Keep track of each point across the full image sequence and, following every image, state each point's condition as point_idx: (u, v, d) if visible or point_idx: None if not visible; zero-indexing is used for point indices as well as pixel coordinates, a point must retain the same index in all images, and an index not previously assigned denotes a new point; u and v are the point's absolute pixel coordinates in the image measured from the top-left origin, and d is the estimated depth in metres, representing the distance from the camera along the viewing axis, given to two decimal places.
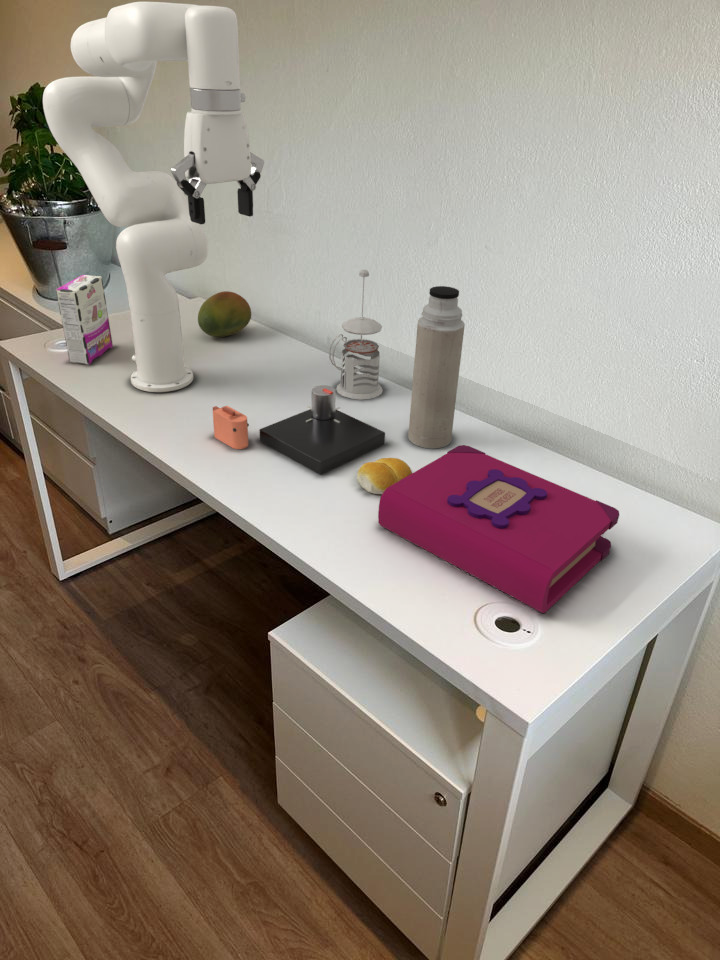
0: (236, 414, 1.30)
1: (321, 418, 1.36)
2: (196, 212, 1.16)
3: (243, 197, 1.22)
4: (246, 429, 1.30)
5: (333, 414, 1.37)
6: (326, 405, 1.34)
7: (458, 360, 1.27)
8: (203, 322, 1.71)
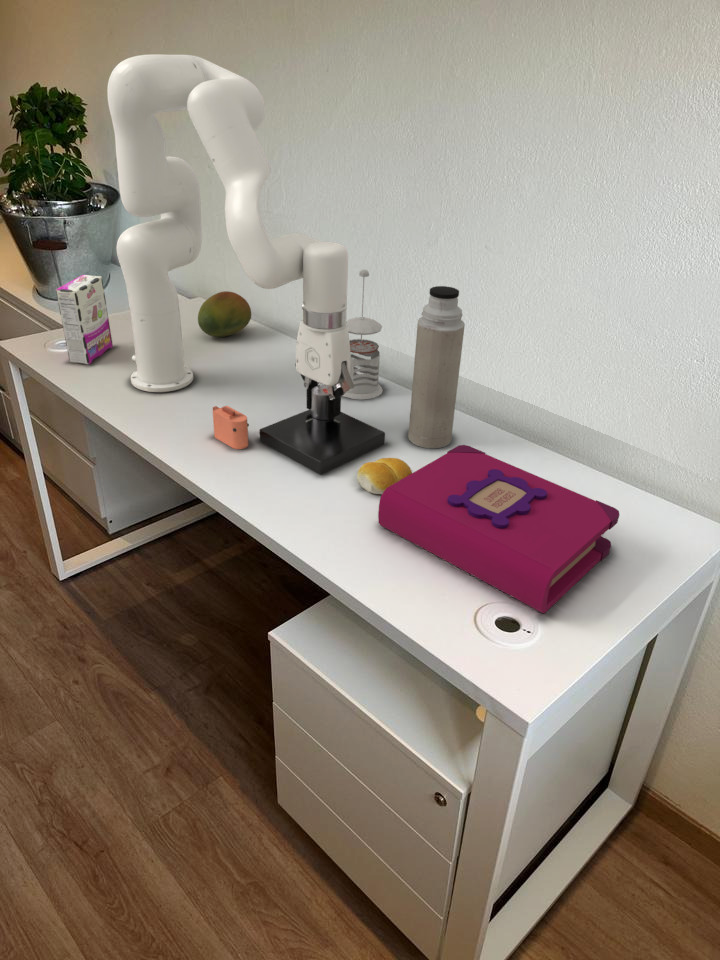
0: (236, 414, 1.30)
1: (321, 418, 1.36)
2: None
3: None
4: (246, 429, 1.30)
5: None
6: None
7: (458, 360, 1.27)
8: (203, 322, 1.71)
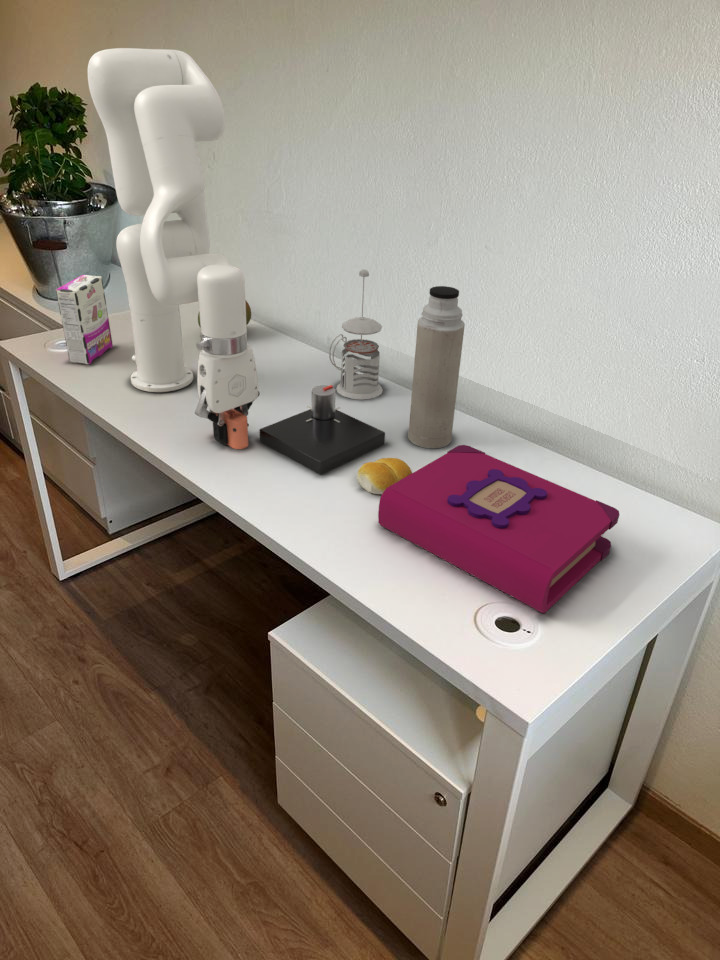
0: (236, 414, 1.30)
1: (334, 414, 1.38)
2: None
3: None
4: (246, 429, 1.30)
5: None
6: None
7: (458, 360, 1.27)
8: None
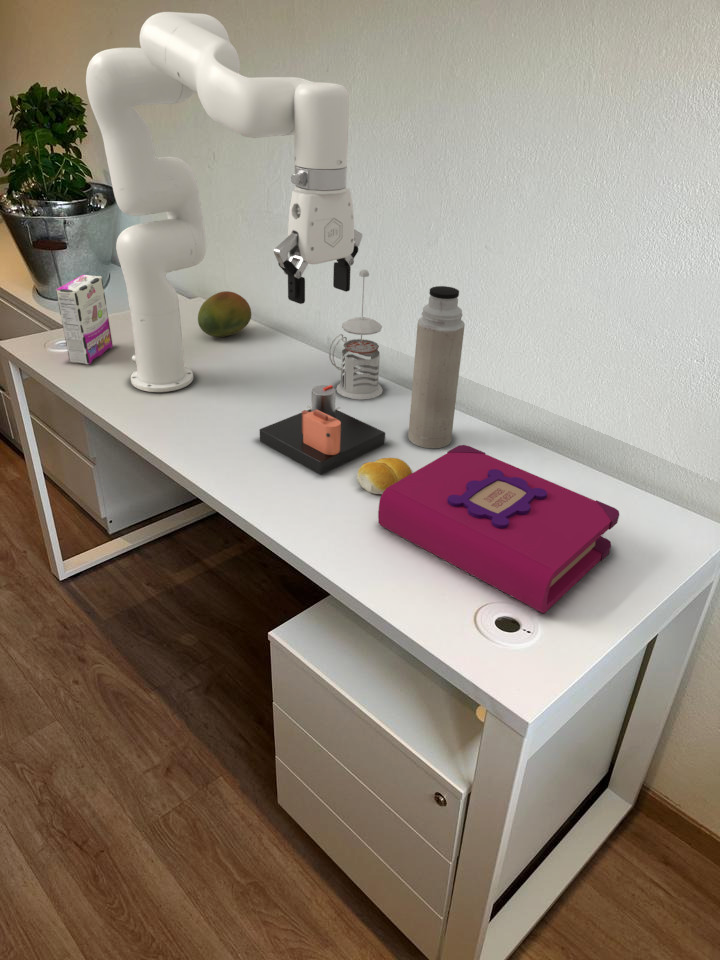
0: (328, 418, 1.25)
1: (334, 414, 1.38)
2: None
3: None
4: (339, 434, 1.24)
5: None
6: None
7: (458, 360, 1.27)
8: (203, 322, 1.71)
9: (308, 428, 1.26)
